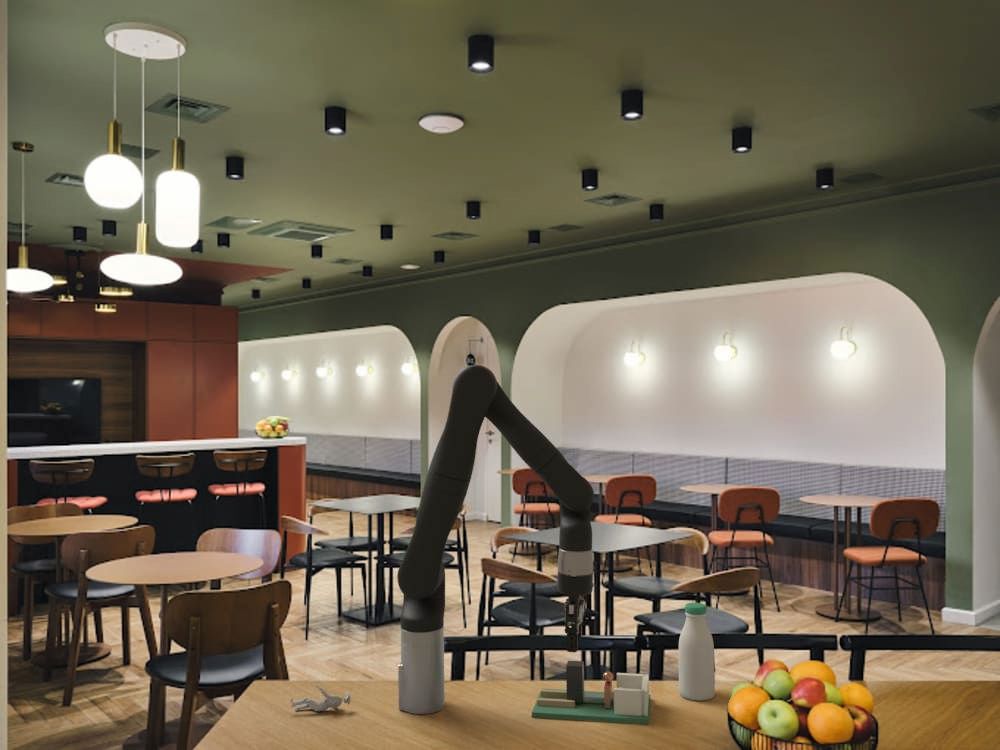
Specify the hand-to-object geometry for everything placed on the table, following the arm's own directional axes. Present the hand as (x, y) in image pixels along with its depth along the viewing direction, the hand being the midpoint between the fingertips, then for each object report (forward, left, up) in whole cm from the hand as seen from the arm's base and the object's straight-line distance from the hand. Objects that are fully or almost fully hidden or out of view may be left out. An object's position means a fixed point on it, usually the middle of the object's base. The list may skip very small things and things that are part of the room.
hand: (574, 645), depth 187 cm
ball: (+10, 0, -10) cm, 14 cm away
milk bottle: (+26, +11, -13) cm, 31 cm away
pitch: (+4, 0, -13) cm, 14 cm away
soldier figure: (-53, -11, -14) cm, 56 cm away
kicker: (+3, 0, -12) cm, 12 cm away
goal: (+12, 0, -12) cm, 17 cm away
